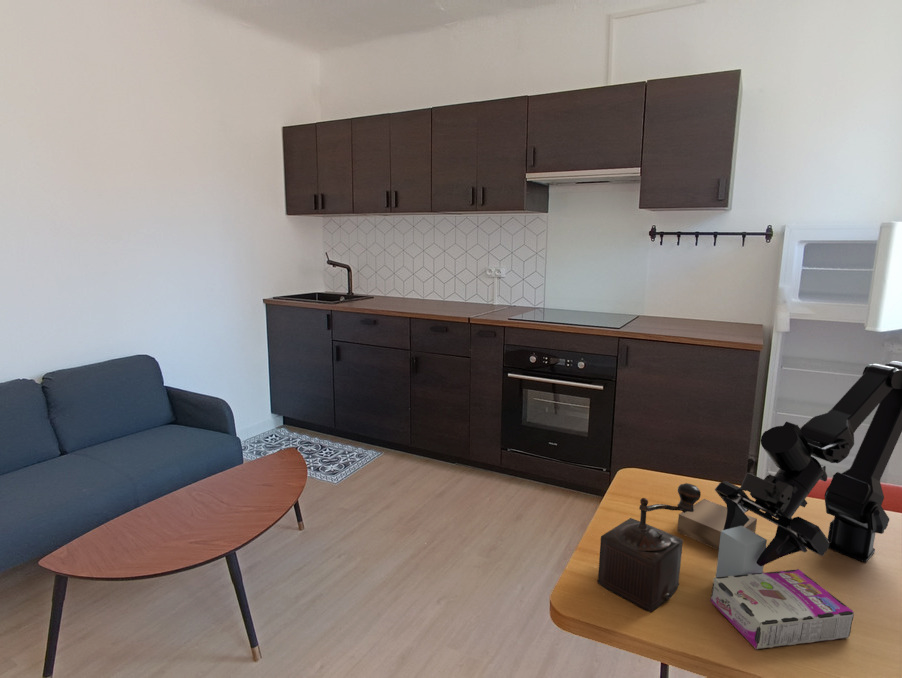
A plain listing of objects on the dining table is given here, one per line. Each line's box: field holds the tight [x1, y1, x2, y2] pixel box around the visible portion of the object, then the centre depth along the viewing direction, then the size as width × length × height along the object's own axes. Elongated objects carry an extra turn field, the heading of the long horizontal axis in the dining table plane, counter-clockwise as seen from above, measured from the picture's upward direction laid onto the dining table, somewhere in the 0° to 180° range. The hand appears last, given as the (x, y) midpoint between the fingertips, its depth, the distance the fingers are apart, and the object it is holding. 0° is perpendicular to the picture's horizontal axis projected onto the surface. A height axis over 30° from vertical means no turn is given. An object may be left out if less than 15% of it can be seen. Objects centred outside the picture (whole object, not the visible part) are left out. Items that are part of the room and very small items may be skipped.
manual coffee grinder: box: [597, 482, 701, 613], centre depth 95 cm, size 16×11×18 cm
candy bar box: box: [710, 568, 855, 650], centre depth 87 cm, size 11×5×16 cm
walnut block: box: [676, 498, 758, 551], centre depth 112 cm, size 11×11×4 cm
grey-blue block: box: [715, 526, 768, 577], centre depth 95 cm, size 5×5×10 cm
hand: (739, 553), depth 94 cm, fingers open, 7 cm apart
